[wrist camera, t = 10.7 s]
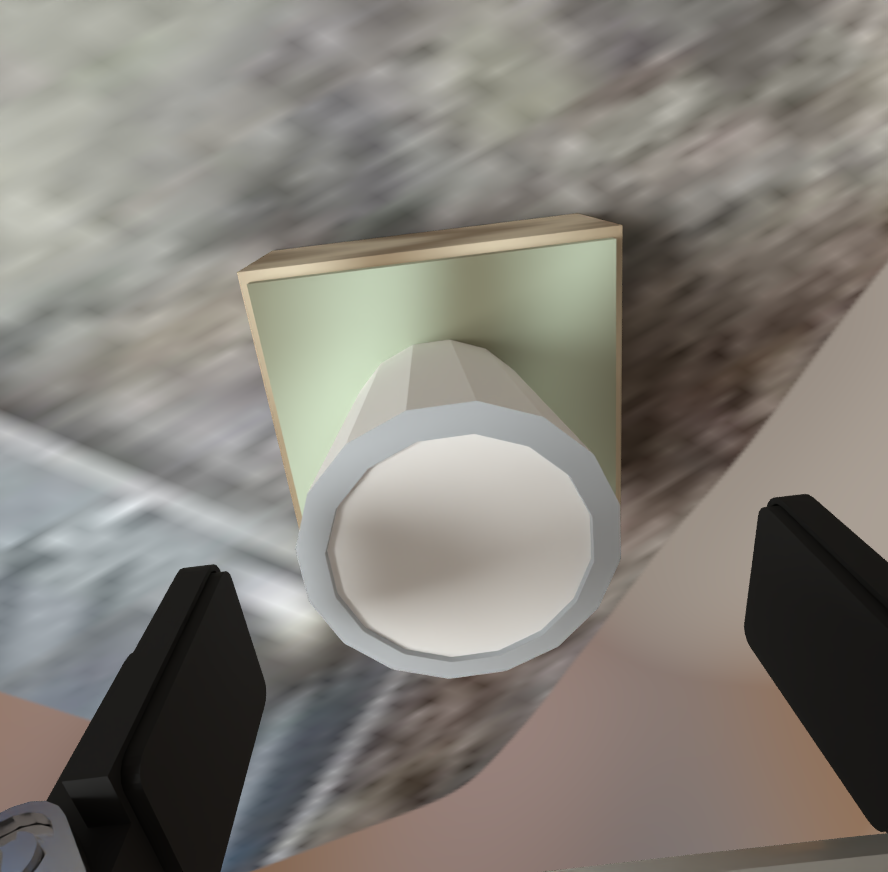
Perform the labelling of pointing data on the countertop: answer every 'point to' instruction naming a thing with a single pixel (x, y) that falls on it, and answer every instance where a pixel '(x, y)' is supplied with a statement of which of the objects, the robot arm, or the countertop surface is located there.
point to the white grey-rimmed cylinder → (456, 519)
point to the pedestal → (441, 324)
